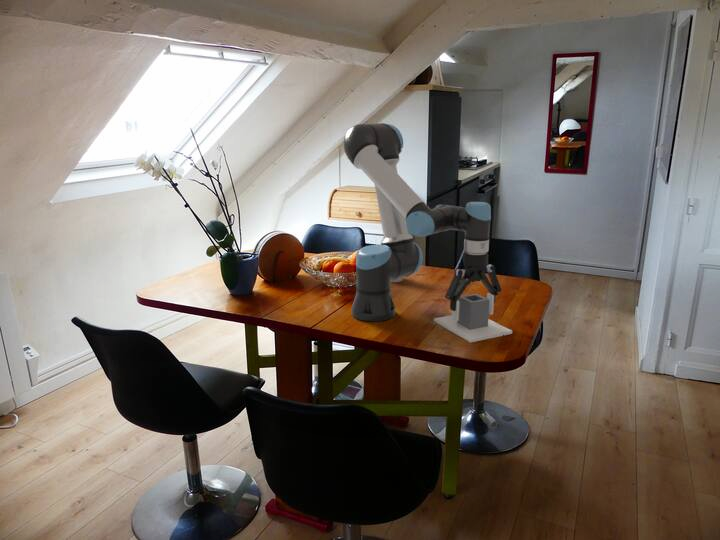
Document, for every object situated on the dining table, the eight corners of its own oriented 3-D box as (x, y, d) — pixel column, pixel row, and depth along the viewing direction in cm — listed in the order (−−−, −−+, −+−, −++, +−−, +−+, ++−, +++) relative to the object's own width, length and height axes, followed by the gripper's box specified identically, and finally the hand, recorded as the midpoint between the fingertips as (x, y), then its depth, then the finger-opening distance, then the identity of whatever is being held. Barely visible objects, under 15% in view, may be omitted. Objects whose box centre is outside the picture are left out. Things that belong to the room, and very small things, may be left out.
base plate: (470, 342, 165) (471, 321, 164) (433, 321, 183) (434, 302, 181) (512, 333, 172) (513, 313, 170) (473, 313, 190) (474, 295, 188)
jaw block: (470, 329, 173) (471, 302, 170) (457, 322, 179) (458, 296, 176) (487, 326, 176) (489, 299, 173) (474, 319, 182) (475, 293, 179)
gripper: (449, 259, 162) (446, 326, 168) (515, 250, 173) (510, 314, 178) (435, 253, 169) (433, 318, 175) (500, 245, 179) (495, 307, 185)
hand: (472, 316), depth 176 cm, fingers open, 13 cm apart
